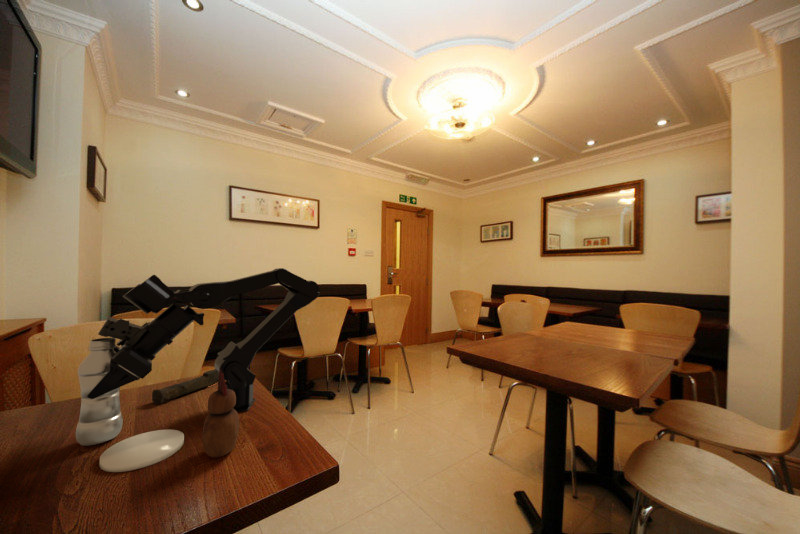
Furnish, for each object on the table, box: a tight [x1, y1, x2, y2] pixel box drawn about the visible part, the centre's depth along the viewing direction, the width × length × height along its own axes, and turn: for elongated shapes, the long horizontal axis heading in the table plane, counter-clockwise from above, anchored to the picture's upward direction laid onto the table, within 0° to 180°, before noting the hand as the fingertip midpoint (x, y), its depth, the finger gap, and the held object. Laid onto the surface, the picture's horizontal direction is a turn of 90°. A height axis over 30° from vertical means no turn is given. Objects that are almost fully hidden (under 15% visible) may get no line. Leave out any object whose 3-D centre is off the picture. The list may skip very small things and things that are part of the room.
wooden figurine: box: [202, 369, 240, 458], centre depth 57 cm, size 7×6×15 cm
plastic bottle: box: [75, 337, 124, 447], centre depth 60 cm, size 6×7×20 cm
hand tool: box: [151, 368, 219, 406], centre depth 85 cm, size 19×4×5 cm, turn 155°
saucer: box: [99, 429, 185, 473], centre depth 57 cm, size 12×12×1 cm
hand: (92, 390), depth 59 cm, fingers open, 9 cm apart
